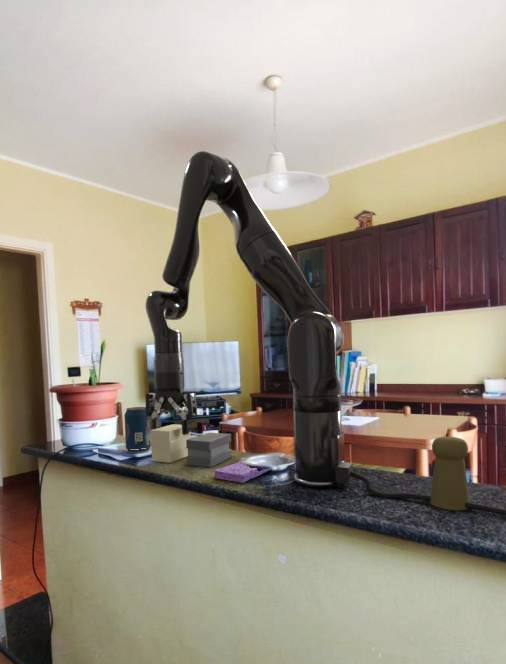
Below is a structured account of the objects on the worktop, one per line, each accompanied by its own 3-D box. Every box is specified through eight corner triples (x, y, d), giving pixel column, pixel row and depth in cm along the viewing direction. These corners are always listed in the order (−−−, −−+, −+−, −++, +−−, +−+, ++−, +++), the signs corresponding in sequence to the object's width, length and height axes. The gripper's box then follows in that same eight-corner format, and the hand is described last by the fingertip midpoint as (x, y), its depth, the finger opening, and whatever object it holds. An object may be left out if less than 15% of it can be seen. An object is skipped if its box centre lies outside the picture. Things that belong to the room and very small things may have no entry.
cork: (455, 512, 66) (455, 442, 66) (421, 501, 72) (421, 436, 71) (479, 505, 69) (479, 438, 68) (444, 495, 74) (444, 432, 74)
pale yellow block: (190, 434, 113) (190, 425, 113) (169, 441, 104) (169, 431, 104) (172, 433, 116) (172, 424, 116) (150, 440, 107) (150, 430, 107)
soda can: (125, 449, 123) (123, 407, 122) (150, 447, 124) (148, 406, 124) (126, 454, 116) (124, 410, 115) (152, 452, 118) (150, 408, 117)
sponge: (214, 478, 89) (214, 470, 89) (246, 465, 100) (246, 457, 99) (242, 483, 85) (242, 474, 85) (273, 469, 95) (273, 461, 95)
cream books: (191, 454, 113) (191, 434, 113) (170, 463, 104) (169, 441, 104) (173, 452, 116) (172, 433, 116) (150, 461, 107) (149, 440, 107)
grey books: (232, 457, 109) (231, 433, 108) (211, 467, 99) (210, 441, 98) (208, 455, 112) (207, 432, 112) (185, 465, 102) (184, 440, 102)
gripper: (137, 371, 109) (140, 434, 110) (185, 370, 102) (187, 437, 103) (155, 370, 116) (157, 430, 117) (200, 369, 109) (203, 432, 110)
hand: (171, 433), depth 110 cm, fingers open, 8 cm apart
